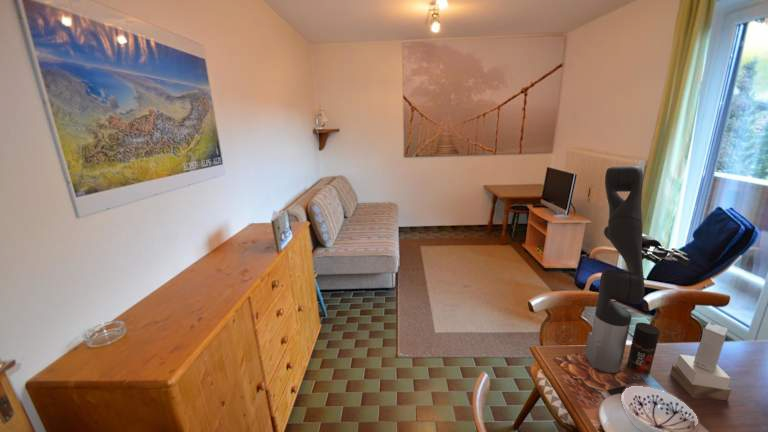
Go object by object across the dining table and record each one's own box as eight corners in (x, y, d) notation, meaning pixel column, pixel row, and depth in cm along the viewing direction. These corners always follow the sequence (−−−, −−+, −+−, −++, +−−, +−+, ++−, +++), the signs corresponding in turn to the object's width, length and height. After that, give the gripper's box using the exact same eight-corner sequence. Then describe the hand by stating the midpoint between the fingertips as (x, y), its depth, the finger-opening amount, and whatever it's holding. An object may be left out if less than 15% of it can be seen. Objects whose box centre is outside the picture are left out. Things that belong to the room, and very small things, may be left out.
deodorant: (647, 364, 106) (656, 325, 102) (652, 377, 101) (662, 336, 97) (625, 359, 108) (633, 320, 104) (629, 371, 103) (638, 331, 99)
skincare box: (712, 373, 91) (726, 336, 88) (691, 363, 95) (704, 328, 92) (717, 364, 95) (730, 329, 92) (696, 355, 98) (708, 321, 95)
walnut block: (692, 398, 93) (695, 387, 92) (669, 375, 102) (672, 364, 101) (727, 401, 92) (731, 389, 91) (701, 377, 101) (704, 366, 99)
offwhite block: (692, 384, 93) (696, 373, 92) (676, 365, 100) (679, 354, 99) (726, 389, 91) (730, 378, 90) (707, 369, 98) (710, 358, 97)
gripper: (624, 234, 122) (651, 251, 106) (665, 235, 120) (700, 252, 104) (620, 253, 124) (647, 271, 108) (661, 254, 122) (694, 273, 106)
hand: (673, 262), depth 106 cm, fingers open, 8 cm apart
